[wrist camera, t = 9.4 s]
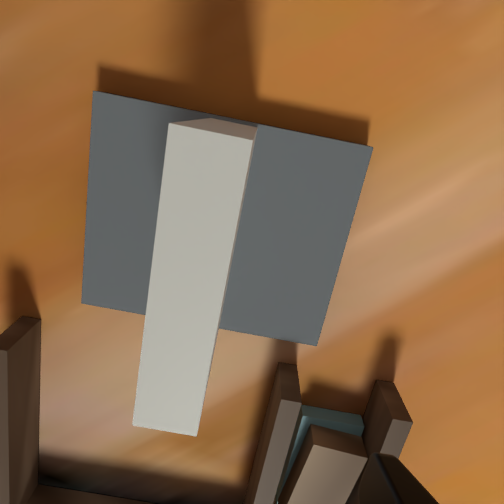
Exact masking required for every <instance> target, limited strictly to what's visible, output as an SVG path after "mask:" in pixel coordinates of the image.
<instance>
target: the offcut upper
mask: <svg viewBox="0 0 504 504" xmlns="http://www.w3.org/2000/svg"><path fill="white" fill-rule="evenodd" d="M367 460H368V456H367V453H366V450H365V447H364V443H363V440H362V437H361V436H357V435H353V434H349V433H345V432H341V431H337V430H333V429H330V428H326V427H322V426H318V425H314V424H310V426H309V428H308V431H307V433H306V435H305V438H304V440H303V442H302V445H301V447H300V449H299V452H298V454H297V456H296V459H295V461H294V463H293V466H292V468H291V470H290V473H289V475H288V477H287V480H286V482H285V484H284V487H283V489H282V491H281V494H280V496H279V498H278V504H345V503H346V501H347V499H348V497H349V495H350V493H351V491H352V489H353V487H354V485H355V483H356V481H357V479H358V477H359V475H360V473H361V471H362V469H363V467H364V465H365V463H366V462H367Z"/></svg>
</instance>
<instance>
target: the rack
mask: <svg viewBox="0 0 504 504" xmlns="http://www.w3.org/2000/svg"><path fill="white" fill-rule="evenodd" d="M40 344H41V319H36V318H30V317H25V316H22V317H21V318H19V319H18V320H17V321H16V322H15V323H13V324H12V325H11V326H10V327H9V328H8V329H6V330H5V331H4V332H3V333H2V334H0V504H155V503H149V502H143V501H137V500H131V499H125V498H119V497H113V496H107V495H100V494H94V493H88V492H82V491H76V490H70V489H64V488H58V487H52V486H46V485H40V484H38V458H39V401H40ZM301 404H302V401H301V394H300V386H299V379H298V371H297V365H291V364H286V363H280V362H279V364H278V368H277V372H276V376H275V380H274V384H273V388H272V392H271V395H270V399H269V403H268V407H267V411H266V415H265V419H264V423H263V427H262V431H261V435H260V439H259V443H258V447H257V451H256V455H255V459H254V463H253V467H252V471H251V475H250V479H249V483H248V487H247V491H246V495H245V499H244V503H243V504H273V502H274V498H275V495H276V491H277V488H278V484H279V481H280V477H281V474H282V470H283V467H284V463H285V460H286V456H287V453H288V449H289V446H290V442H291V439H292V435H293V432H294V428H295V425H296V421H297V418H298V414H299V411H300V407H301ZM362 420H363V424H364V430H363V432H362V435H361V437H362V440H363V443H364V447H365V450H366V453H367V456H368V460H369V458H370V456H371V455H372V454H373V453H375V452H378V453H384V454H390V455H393V456H395V457H396V458H399V456H400V453H401V451H402V448H403V446H404V443H405V441H406V439H407V436H408V434H409V431H410V429H411V426H412V424H413V422H412V419H411V417H410V415H409V413H408V411H407V409H406V407H405V405H404V403H403V401H402V399H401V397H400V395H399V392H398V390H397V388H396V386H395V384H394V383H392V382H386V381H380V380H376V382H375V385H374V388H373V391H372V394H371V396H370V399H369V402H368V405H367V408H366V410H365V413H364V416H363V419H362ZM368 460H367V462H366V463H365V465H364V467H363V469H362V471H361V473H360V475H359V477H358V479H357V481H356V483H355V485H354V487H353V489H352V491H351V493H350V495H349V497H348V499H347V501H346V503H345V504H359V486H360V482H361V479H362V476H363V474H364V471H365V468H366V466H367V463H368Z"/></svg>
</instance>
